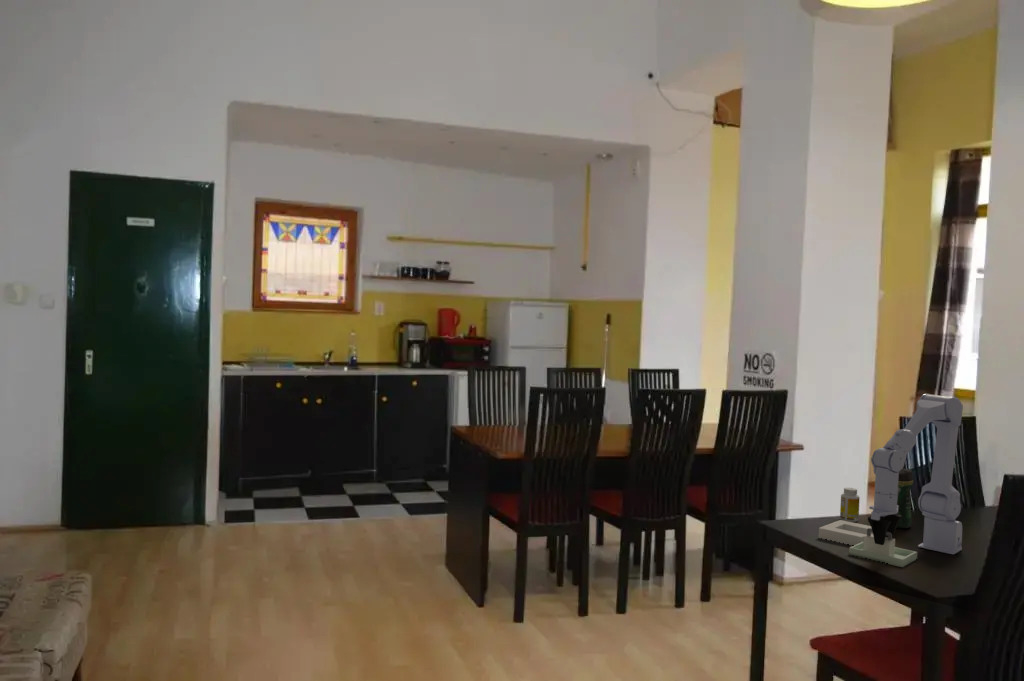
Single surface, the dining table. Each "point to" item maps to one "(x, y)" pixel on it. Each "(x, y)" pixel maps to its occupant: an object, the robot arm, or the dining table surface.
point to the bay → (844, 532)
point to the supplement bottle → (849, 505)
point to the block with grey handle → (877, 548)
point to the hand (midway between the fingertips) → (883, 542)
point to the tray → (899, 558)
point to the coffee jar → (904, 497)
